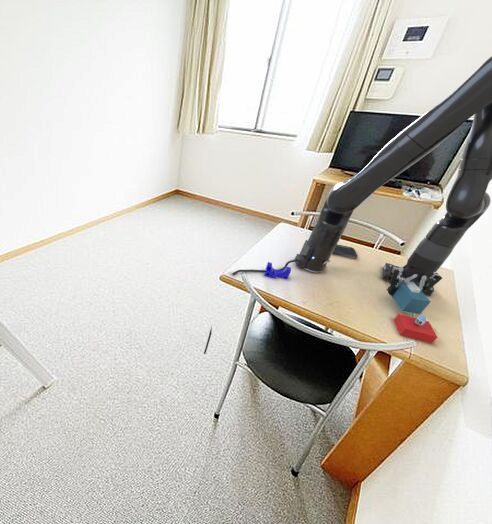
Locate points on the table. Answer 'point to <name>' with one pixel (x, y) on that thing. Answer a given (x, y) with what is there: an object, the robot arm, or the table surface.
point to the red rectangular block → (415, 328)
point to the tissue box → (410, 298)
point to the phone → (345, 251)
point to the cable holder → (276, 272)
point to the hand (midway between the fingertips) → (399, 295)
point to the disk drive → (387, 270)
